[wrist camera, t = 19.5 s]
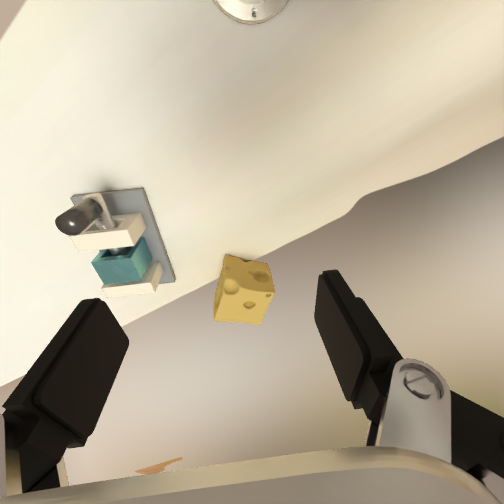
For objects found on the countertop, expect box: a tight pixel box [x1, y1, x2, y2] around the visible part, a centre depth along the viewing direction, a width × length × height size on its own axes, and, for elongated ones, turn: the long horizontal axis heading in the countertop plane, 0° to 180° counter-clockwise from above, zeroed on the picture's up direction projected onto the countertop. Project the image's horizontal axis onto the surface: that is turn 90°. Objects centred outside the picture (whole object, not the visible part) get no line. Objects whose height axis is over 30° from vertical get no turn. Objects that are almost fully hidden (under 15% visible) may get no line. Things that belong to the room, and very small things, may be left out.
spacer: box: [91, 237, 152, 285], centre depth 42 cm, size 5×7×7 cm
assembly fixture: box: [69, 188, 176, 298], centre depth 42 cm, size 21×12×8 cm, turn 5°
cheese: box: [214, 255, 275, 325], centre depth 48 cm, size 10×11×10 cm
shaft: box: [55, 193, 128, 256], centre depth 37 cm, size 18×3×8 cm, turn 5°
